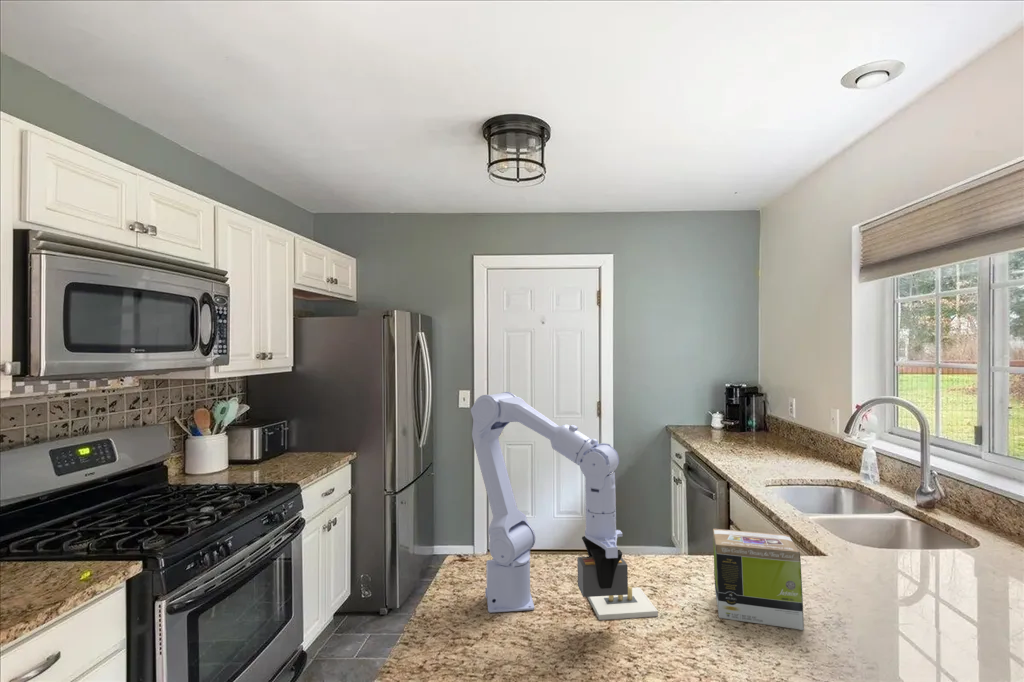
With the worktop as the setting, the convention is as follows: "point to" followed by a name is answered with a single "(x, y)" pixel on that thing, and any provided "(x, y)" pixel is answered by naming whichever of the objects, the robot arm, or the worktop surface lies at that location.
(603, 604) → the header board
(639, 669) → the worktop surface
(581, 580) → the block
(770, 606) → the tea box
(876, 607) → the worktop surface
